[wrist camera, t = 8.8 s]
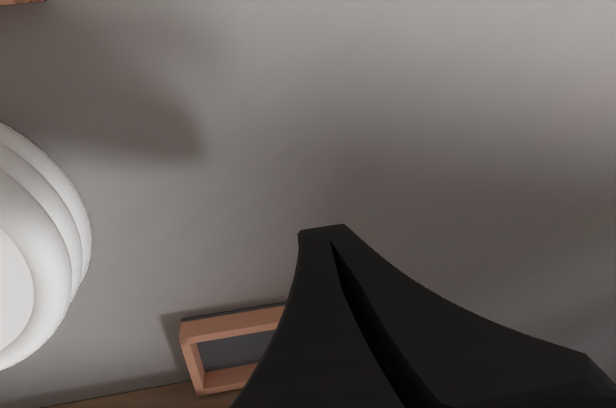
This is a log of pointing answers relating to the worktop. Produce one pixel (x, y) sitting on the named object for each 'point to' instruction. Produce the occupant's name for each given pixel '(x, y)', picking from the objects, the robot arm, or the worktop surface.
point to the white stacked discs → (36, 246)
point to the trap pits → (222, 338)
